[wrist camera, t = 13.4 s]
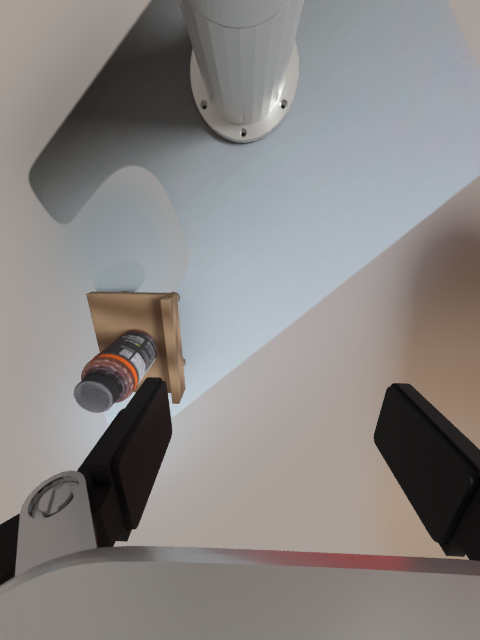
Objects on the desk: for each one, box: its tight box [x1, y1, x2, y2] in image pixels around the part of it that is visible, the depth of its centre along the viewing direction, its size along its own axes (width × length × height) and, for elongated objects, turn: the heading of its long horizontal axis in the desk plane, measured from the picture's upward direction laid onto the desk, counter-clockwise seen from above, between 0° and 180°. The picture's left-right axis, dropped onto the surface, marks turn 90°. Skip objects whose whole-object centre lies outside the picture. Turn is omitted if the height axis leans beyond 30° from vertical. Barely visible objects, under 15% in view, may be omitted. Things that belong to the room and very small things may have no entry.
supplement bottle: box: [74, 330, 158, 413], centre depth 29 cm, size 6×6×11 cm
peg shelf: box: [86, 291, 185, 404], centre depth 36 cm, size 16×12×9 cm
